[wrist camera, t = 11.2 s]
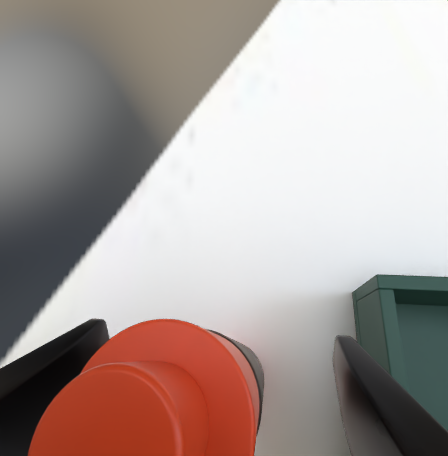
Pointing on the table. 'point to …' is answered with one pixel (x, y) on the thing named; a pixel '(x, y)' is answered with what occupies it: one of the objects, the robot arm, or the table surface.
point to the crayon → (158, 397)
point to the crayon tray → (408, 334)
